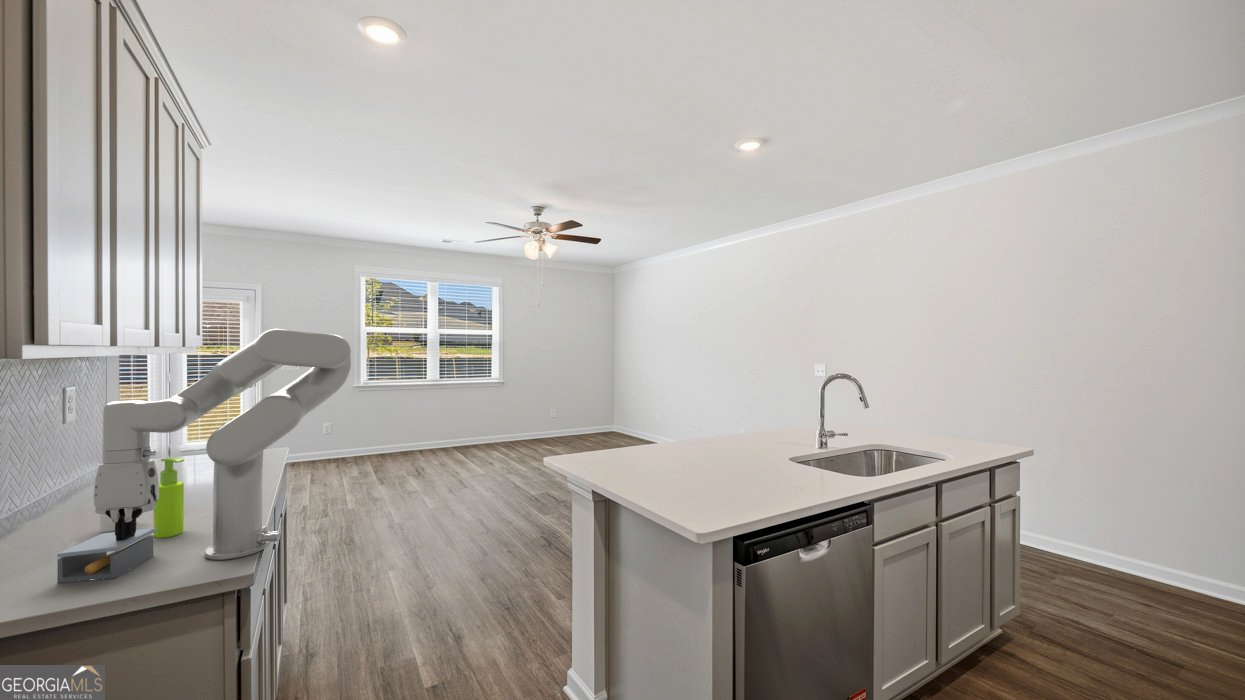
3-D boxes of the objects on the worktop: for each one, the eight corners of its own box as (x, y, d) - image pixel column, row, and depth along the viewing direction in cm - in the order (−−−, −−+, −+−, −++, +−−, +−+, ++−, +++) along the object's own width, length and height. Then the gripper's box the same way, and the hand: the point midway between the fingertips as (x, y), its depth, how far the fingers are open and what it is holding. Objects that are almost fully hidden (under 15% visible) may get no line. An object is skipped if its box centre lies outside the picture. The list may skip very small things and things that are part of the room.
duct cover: (156, 530, 120) (156, 527, 120) (118, 550, 108) (117, 546, 108) (102, 536, 118) (102, 533, 118) (57, 557, 106) (57, 553, 106)
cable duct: (153, 556, 120) (153, 534, 120) (114, 578, 108) (114, 554, 108) (102, 559, 118) (102, 538, 118) (57, 583, 106) (57, 559, 106)
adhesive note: (136, 522, 143) (137, 501, 143) (131, 528, 138) (131, 506, 138) (107, 526, 140) (107, 504, 140) (100, 533, 135) (100, 510, 135)
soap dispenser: (168, 539, 131) (169, 461, 131) (147, 536, 132) (147, 459, 132) (192, 531, 136) (192, 456, 136) (171, 529, 138) (171, 455, 138)
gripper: (176, 451, 119) (175, 530, 119) (99, 453, 116) (98, 534, 115) (154, 458, 111) (153, 542, 111) (71, 460, 108) (70, 547, 108)
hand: (125, 538), depth 113 cm, fingers closed
